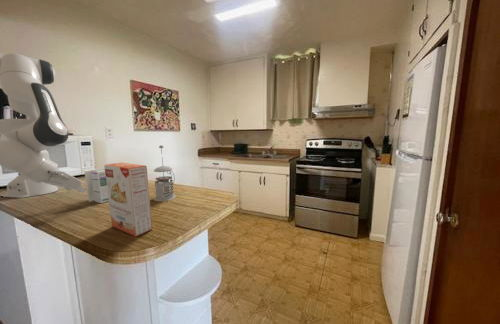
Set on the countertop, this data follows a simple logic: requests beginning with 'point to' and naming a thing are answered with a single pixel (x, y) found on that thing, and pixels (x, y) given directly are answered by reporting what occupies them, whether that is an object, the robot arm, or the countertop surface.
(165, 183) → the french press
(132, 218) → the cracker box
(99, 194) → the syrup box
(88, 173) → the white topped bridge
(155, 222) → the countertop surface
